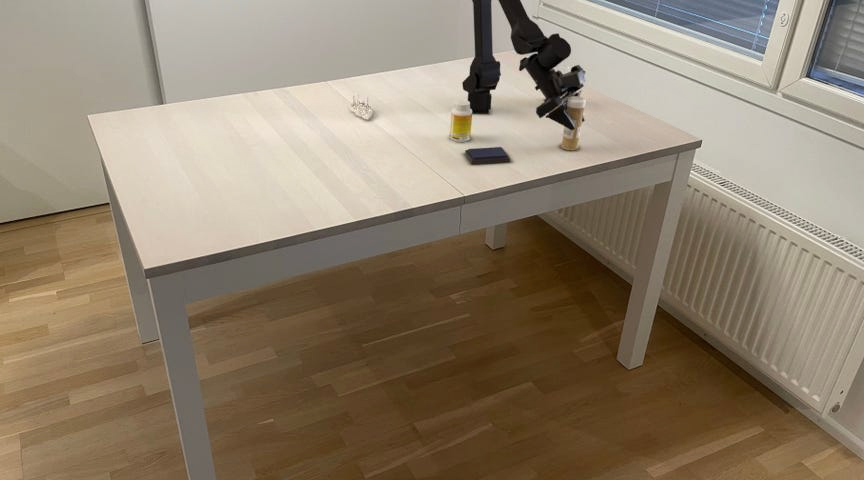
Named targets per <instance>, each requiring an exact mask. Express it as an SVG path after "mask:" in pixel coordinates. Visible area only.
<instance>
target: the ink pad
mask: <svg viewBox="0 0 864 480" xmlns="http://www.w3.org/2000/svg"><path fill="white" fill-rule="evenodd" d="M464 155H465V156H466V158H467V161H468V162H469V163H470V164H471V165H486V164H501V163H502V164H504V163H510V161H511V157H510V155H508V153H507V152H506V151H505V149H504V148H503V147H502V146H495V147H494V146H493V147H491V146H490V147H477V148H468V149H465V150H464Z"/></svg>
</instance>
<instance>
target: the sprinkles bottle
mask: <svg viewBox="0 0 864 480" xmlns="http://www.w3.org/2000/svg"><path fill="white" fill-rule="evenodd" d="M586 102H587V99H586V98H584V97H583V96H580V97H579V96H572V97H569V98H568V101H567V110H566V111H567V112H568V114H569V116H570V118H571V120H572V122H573V124H574V126H575V129H574V130H570V129H568V128H566V127H565V126H563V130H562V132H563V133H562V139H561V144H560V147H561V148H562V149H563V150H566V151H576V150H578V149H579V143H580V136H581V132H582V131H581V130H582V124H583V122H582V117H583V115H584V110H585V108H586Z"/></svg>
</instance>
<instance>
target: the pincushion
mask: <svg viewBox="0 0 864 480" xmlns="http://www.w3.org/2000/svg"><path fill="white" fill-rule="evenodd" d="M358 97H360V96H359V94H358ZM352 98H353V100H355V95H353V97H352ZM366 99H367V102H365V101H360V100H356V101H353V102H352V103H350V104H349V106H348V108H349V110H350V111H351V112H352V113H354V114H355V116H357V117H360V118H362V119H365V120H369V119H370V117H371V116H372V115H373V113H374V112H373V108H372V107H371V105H370V104H369V97H367V98H366Z"/></svg>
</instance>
